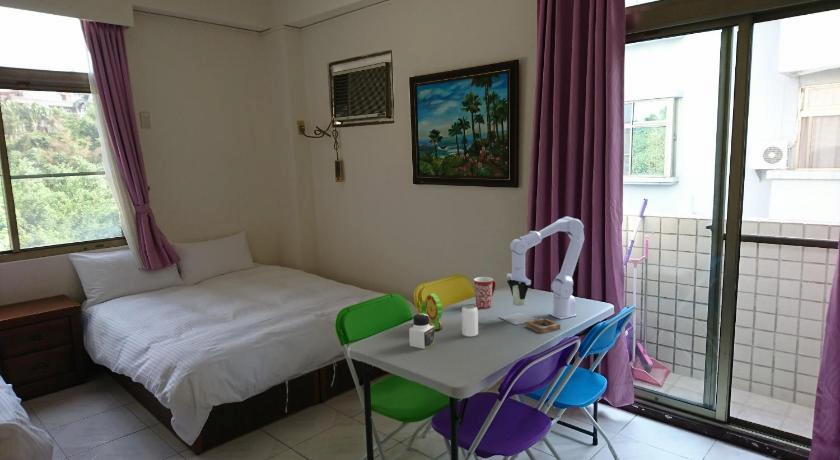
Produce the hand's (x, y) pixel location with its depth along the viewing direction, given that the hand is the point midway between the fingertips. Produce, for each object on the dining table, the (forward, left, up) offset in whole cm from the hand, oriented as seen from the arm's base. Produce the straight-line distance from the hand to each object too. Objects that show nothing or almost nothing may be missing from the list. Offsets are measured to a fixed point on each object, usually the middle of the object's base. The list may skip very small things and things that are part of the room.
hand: (518, 297), depth 227 cm
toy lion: (+38, -11, -10) cm, 40 cm away
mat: (0, 0, -10) cm, 10 cm away
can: (+28, +5, -10) cm, 30 cm away
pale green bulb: (0, 0, -3) cm, 3 cm away
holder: (-2, +14, -10) cm, 17 cm away
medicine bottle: (+50, +5, -10) cm, 51 cm away
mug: (+1, -24, -10) cm, 26 cm away
